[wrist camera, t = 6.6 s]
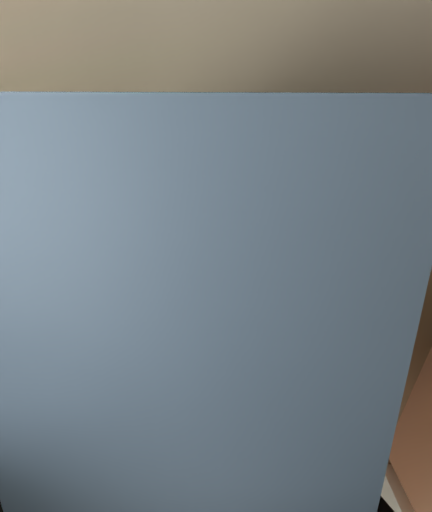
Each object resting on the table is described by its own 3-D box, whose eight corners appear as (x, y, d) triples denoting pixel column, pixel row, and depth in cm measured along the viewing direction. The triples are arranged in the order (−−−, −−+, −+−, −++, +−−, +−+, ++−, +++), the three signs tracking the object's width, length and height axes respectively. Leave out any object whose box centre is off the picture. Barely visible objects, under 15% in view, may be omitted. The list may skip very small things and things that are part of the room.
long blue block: (156, 543, 12) (103, 870, 7) (123, 113, 7) (-116, 91, 2) (264, 546, 12) (295, 879, 7) (296, 114, 7) (469, 94, 2)
